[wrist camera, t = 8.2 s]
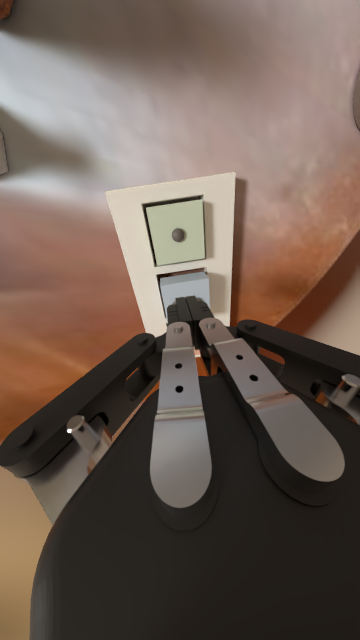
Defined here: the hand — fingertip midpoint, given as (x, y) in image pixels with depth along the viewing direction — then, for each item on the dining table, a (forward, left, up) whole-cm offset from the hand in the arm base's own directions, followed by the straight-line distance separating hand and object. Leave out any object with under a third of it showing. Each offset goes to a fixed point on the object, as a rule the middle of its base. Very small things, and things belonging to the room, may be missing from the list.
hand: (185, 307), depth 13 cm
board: (-1, +4, -13) cm, 14 cm away
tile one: (-1, -4, -13) cm, 14 cm away
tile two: (-1, +4, -11) cm, 12 cm away
